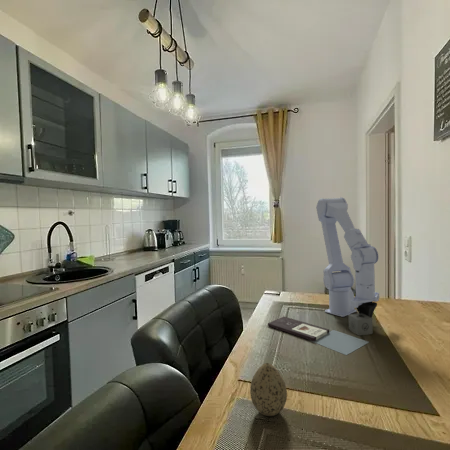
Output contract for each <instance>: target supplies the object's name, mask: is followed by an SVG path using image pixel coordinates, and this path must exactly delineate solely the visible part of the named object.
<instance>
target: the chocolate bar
mask: <svg viewBox="0 0 450 450" xmlns="http://www.w3.org/2000/svg"><path fill="white" fill-rule="evenodd" d="M267 327H269V328H273V329H276V330H278V331H282V332H284V333H287V334H291V335H293V336H297V337H299V338H303V339H305V340H308V341H310V340H311V341H310V342H312V341H315V340H317V339H319V338H321V337H322V336H324V335H326V334H327V333H329V332H330V329H328V328H325V327H321V326H318V325H315V324H311V323H308V322H304V321H301V320H298V319H294V318H290V317H288V316H287V317H286V316H282V317H279V318H277V319H274V320H273V321H269V322H268V323H267Z"/></svg>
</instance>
